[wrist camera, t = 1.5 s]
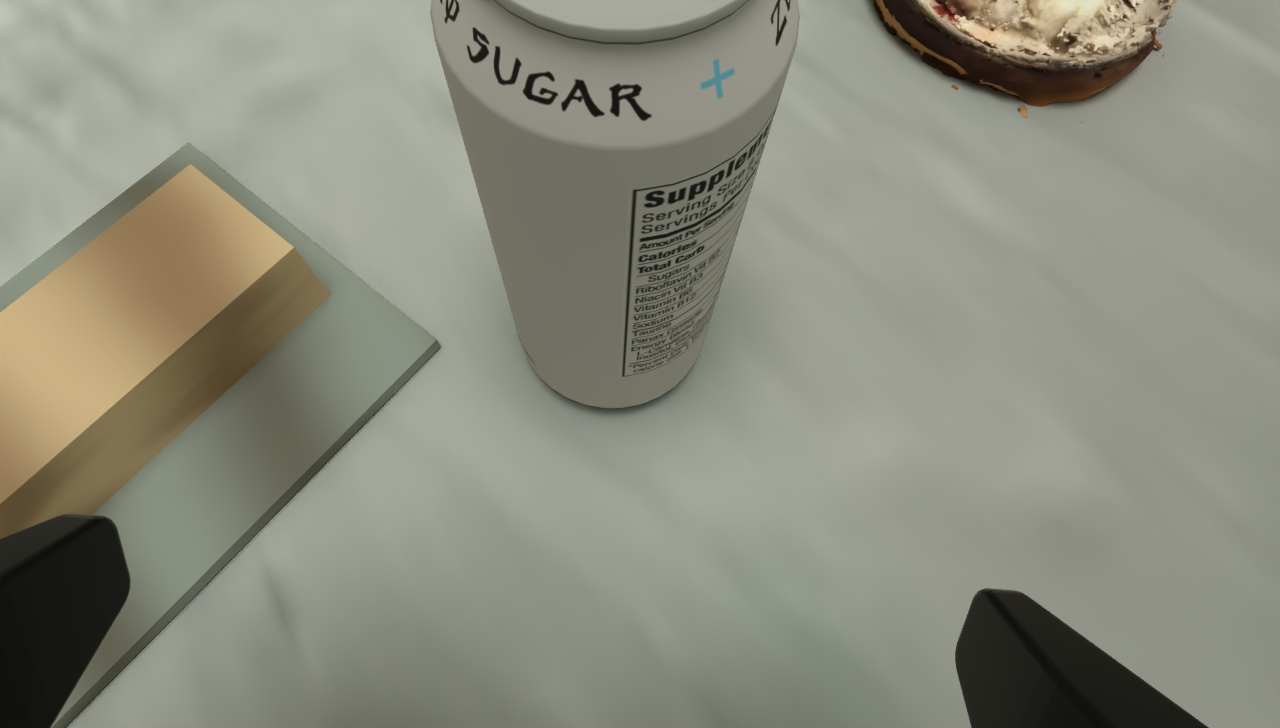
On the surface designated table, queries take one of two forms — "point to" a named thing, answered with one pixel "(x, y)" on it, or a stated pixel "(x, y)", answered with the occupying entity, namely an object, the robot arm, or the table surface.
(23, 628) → the robot arm
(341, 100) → the table surface
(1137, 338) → the table surface
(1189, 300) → the table surface
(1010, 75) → the brown and white disc
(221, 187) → the ridge
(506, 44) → the energy drink can
